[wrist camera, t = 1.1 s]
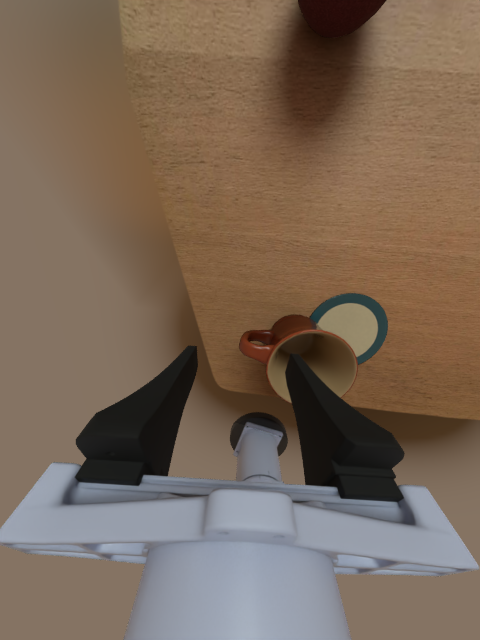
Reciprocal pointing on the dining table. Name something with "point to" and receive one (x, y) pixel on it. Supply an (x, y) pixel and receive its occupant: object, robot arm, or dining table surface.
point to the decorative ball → (338, 15)
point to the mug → (302, 353)
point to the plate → (354, 322)
